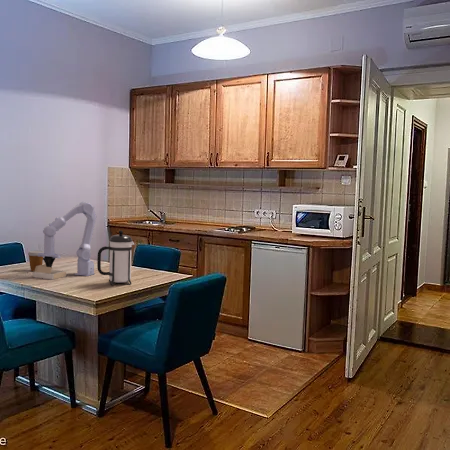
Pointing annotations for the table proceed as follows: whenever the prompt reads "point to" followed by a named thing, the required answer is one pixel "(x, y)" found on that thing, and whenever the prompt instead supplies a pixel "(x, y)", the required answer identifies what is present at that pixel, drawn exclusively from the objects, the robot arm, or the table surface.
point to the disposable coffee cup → (35, 259)
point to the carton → (50, 274)
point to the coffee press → (118, 259)
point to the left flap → (44, 269)
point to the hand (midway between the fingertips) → (49, 269)
